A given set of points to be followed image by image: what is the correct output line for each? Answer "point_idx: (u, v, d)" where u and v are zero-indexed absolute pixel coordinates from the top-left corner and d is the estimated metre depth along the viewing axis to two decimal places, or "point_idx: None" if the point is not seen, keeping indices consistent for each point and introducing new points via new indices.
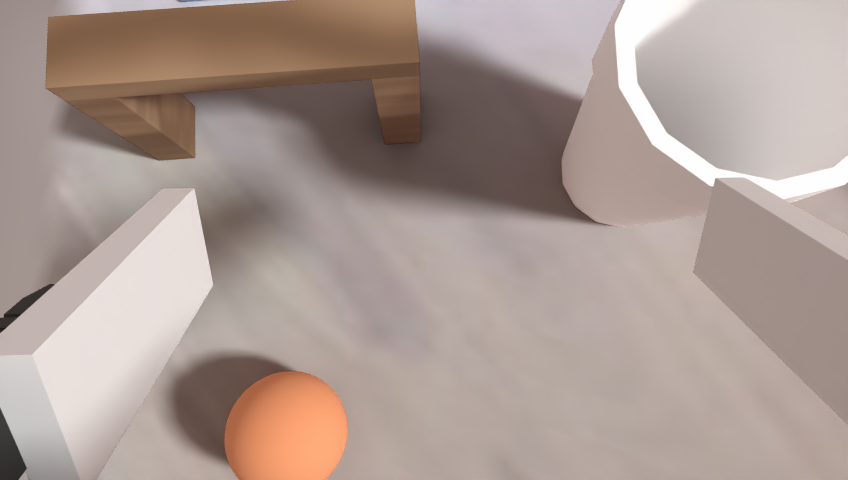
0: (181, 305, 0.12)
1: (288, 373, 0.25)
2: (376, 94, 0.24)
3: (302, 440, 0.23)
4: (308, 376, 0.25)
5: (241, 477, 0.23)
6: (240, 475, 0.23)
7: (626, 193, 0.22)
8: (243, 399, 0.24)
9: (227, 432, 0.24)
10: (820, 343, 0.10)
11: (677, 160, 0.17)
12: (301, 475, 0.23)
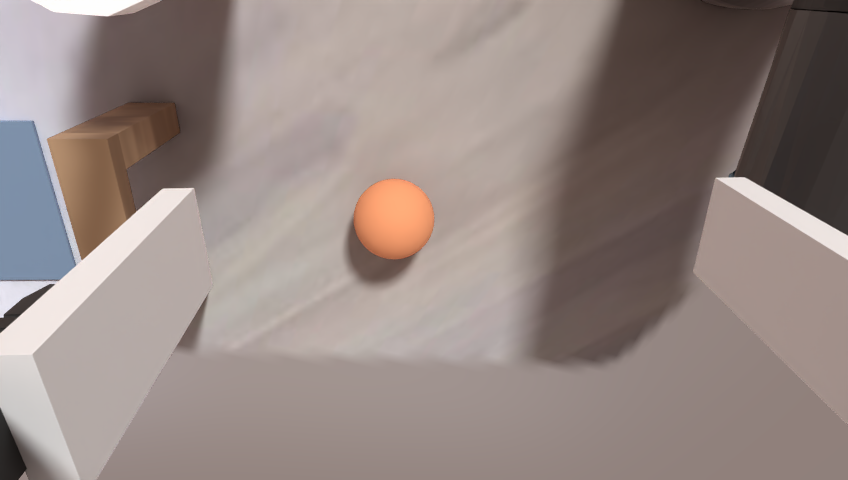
0: (182, 305, 0.12)
1: (354, 218, 0.37)
2: (137, 159, 0.31)
3: (392, 216, 0.35)
4: (356, 205, 0.37)
5: (415, 251, 0.37)
6: (414, 251, 0.37)
7: None
8: (367, 248, 0.37)
9: (387, 258, 0.37)
10: (820, 343, 0.10)
11: None
12: (416, 217, 0.35)
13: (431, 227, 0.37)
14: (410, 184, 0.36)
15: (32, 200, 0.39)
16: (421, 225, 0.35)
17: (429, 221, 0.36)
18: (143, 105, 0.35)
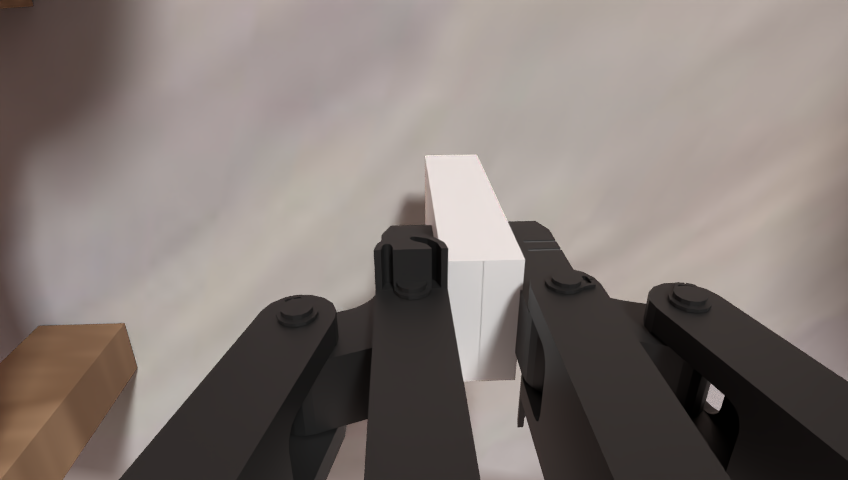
0: None
1: None
2: None
3: None
4: None
5: None
6: None
7: None
8: None
9: None
10: None
11: None
12: None
13: None
14: None
15: None
16: None
17: None
18: None
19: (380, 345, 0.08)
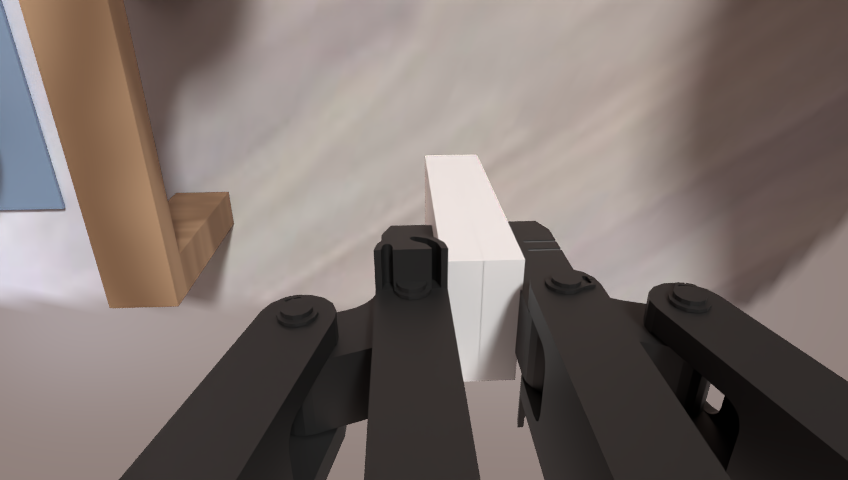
0: None
1: None
2: None
3: None
4: None
5: None
6: None
7: None
8: None
9: None
10: None
11: None
12: None
13: None
14: None
15: None
16: None
17: None
18: None
19: (380, 345, 0.08)
